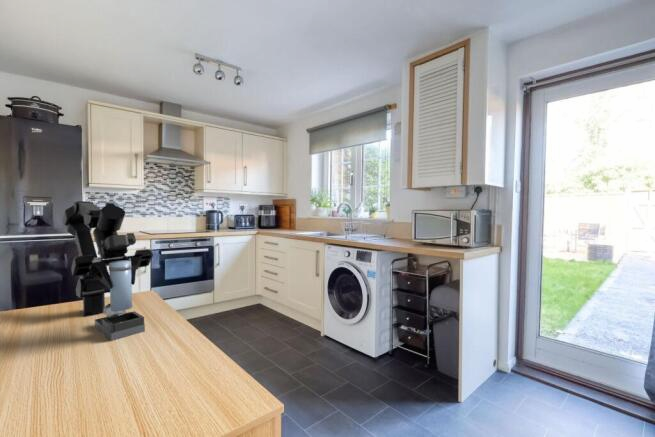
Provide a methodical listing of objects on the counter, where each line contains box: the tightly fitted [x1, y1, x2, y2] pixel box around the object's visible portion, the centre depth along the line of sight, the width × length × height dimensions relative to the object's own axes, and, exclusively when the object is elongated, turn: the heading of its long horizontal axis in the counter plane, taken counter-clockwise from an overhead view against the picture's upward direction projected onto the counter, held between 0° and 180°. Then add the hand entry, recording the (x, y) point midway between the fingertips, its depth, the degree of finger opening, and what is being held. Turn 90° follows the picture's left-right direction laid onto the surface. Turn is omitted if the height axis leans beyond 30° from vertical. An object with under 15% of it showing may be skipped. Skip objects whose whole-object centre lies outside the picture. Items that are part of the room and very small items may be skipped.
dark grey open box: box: [94, 303, 146, 342], centre depth 88 cm, size 15×8×6 cm, turn 51°
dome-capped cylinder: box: [108, 261, 133, 311], centre depth 85 cm, size 5×5×13 cm
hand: (122, 285), depth 84 cm, fingers closed on dome-capped cylinder, 5 cm apart
